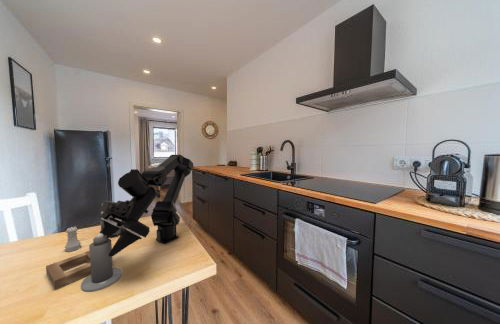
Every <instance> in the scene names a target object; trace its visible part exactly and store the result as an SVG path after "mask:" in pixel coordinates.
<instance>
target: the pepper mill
mask: <svg viewBox="0 0 500 324" xmlns="http://www.w3.org/2000/svg"><path fill="white" fill-rule="evenodd" d="M99 233H100V232H99ZM99 233H98V234H97V235H96V237H94V238H93V239H92V240H93V241H92V242H91V243H90V244H89V245H88V248H89V250H88V251H90V265H91V280H92V283H101V282H104V281H106V280H108V279H110V278H111V277H112V276H113V267H114V264H113V263H114V262H113V257H110V256H109V253H110V251H111V249H112V248H113V246H112V239H110V238H109V239H107V236H106V235H103V234H102V233H100V234H99Z"/></svg>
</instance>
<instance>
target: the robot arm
mask: <svg viewBox="0 0 500 324" xmlns="http://www.w3.org/2000/svg"><path fill="white" fill-rule="evenodd" d="M193 169H194V162H193V161H192V160H191V159H189V158H187V157H185V156H184V155H182V154H171V155H169V156H168V157H167V158H166V159H165V160H164V161H162V162H161V163H160V164H159V165H157V166H155V167H151V168H148V169H146V170H144V171H142V173H141V171H140V170H139V169H136V168H135V169H134V168H133V169H132V168H131V169H130V171H128V172H126V173H125V174H123V175H122V176H121V177H120V178H119V179H118V182H117V184H118V186H119V188H120V189H122V190H123V191H124V192H126V193H127V194H128V195H130V196H131V197H132V198H131V199H130V200H128V199H126V200H125V201H122V200H117V201H109V200H103V202H102V204H101V207H100V209H99V212H100V213H101V212H103V214H102V215H101V214H100V216H99V217H100V219H99V220H100V224H101V223H102V228H101V227H100V231H99V233H98V234H100V233H102V234H103V235H106V236H107V239H110V238H112V237H113V236H112V235H113V234H114V233H116V232H117V231H118V230H119V229H120V228H118V227H116V225H117V226H119V227H120V226H122V225H123V226H124V227H125V228H126V230H125V229H123V228H121V234H119V235H120V236H119V237H118V238H117V241H116V242H115V244H114V245H113V246H112V249H111V251H110V253H109V256H110V257H112V258H114V256H116V255H117V254H119V253H120V252H122V251H123V250H125V249H126V248H127V247H129V246H130V245H132V244H134V243H135V242H137V241H138V240H142V238H144V239H145V238H147V236H148V235H149V233H150V232H151V231H150V227H149V226H148V225H146V224H144V223H142V222H141V221H139V220H140V219H141V218H142V216H143V214H146V215H147V214H148V213H149V209H148V208H149V207H150V205H151V204H152V203H153V202H154V200H155V199H161V191H160V190H159V189H156V188H154V187H163V186H164V185H165V183H166V182H167V181H168V177H167V176H168V175H169V174H170V173H171V172H172V171H173V172H174V175H173V176H172V179H171V181H170V184H169V186H168V188H167V190H166V192H165V196H164V197H163V199H162V200H161V201H160V200H158V201H156V203H155V205H154V207H153V209H152V212H151V215H150V218H151V221H152V224H153V226H154V227H157V230H156V237H155V240H156V241H158V242H160V243H162V244H164V245H165V244H167V243H169V242H173V241H174V240H177V239H178V238H179V237H180V236H179V235H177V225H179V224H180V219H181V217H180V215H179V214H178V213H177V210H178V209H177V207H176V203H177V200H178V197H179V195H180V192H181V190H182V187H183V184H184V181H185V178H186V177H188V176H189V175H190V174H191V173H192V171H193ZM101 218H103V220H102V219H101Z"/></svg>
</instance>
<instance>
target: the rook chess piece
mask: <svg viewBox="0 0 500 324" xmlns="http://www.w3.org/2000/svg"><path fill="white" fill-rule="evenodd" d="M78 230H79V229H78V228H77V226H70V227H68V228H67V229H66V231H65V233H66V234H67V235H66V237H67V242H66V244H65V246H64V251H66V252H69V253H70V252H74V251H78V249H80V248H81V247H82V245H81V244H82V242H81V241H80V240H79V239H78V232H77V231H78Z"/></svg>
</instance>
